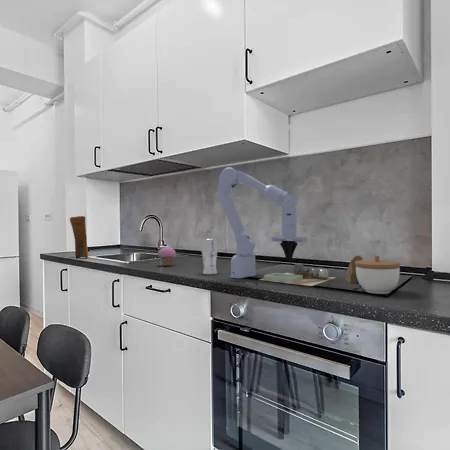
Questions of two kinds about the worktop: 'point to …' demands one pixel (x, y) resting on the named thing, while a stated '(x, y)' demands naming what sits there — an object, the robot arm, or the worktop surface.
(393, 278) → the lidded bowl
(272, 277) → the tray
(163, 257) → the cupcake
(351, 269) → the rock
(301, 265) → the grey stepped block
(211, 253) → the beer glass
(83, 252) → the pancake mix bag
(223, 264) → the worktop surface
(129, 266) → the worktop surface
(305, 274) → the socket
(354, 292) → the worktop surface
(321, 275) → the grey cylinder
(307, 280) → the board
